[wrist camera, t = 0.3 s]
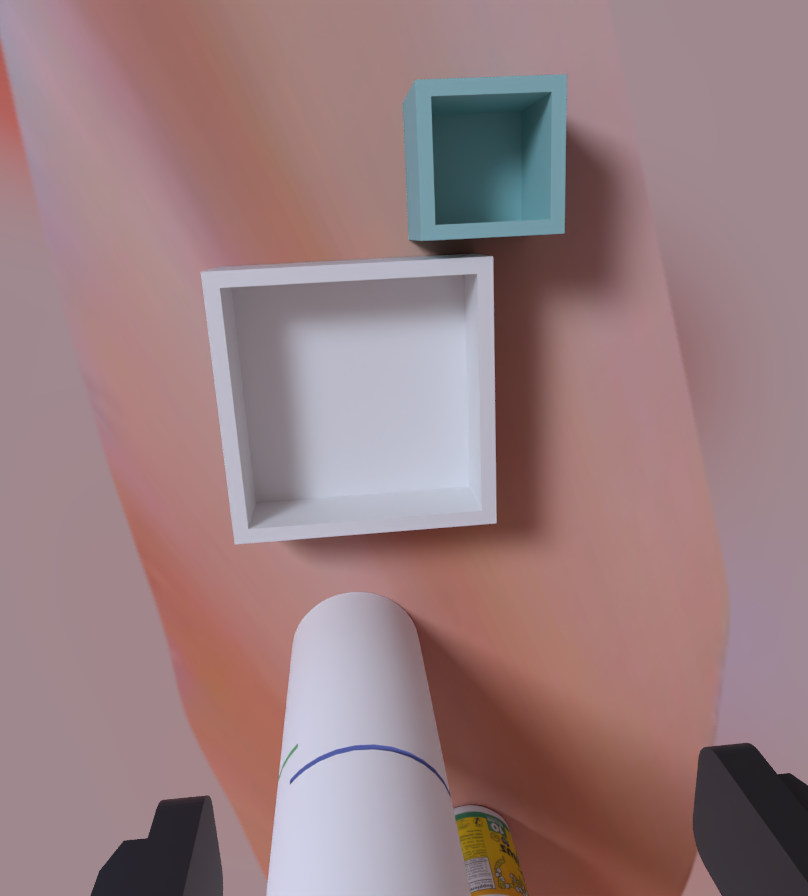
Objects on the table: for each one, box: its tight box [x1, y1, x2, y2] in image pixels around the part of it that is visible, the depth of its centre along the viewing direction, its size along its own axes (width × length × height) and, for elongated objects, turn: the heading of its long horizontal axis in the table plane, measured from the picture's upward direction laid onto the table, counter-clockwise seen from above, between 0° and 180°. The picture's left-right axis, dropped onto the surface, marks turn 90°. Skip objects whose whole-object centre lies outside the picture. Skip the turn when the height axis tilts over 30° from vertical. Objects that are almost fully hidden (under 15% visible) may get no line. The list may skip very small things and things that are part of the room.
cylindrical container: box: [266, 592, 471, 896], centre depth 29 cm, size 7×7×25 cm
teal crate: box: [403, 74, 567, 241], centre depth 32 cm, size 6×6×6 cm
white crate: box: [201, 253, 497, 544], centre depth 35 cm, size 12×12×4 cm
